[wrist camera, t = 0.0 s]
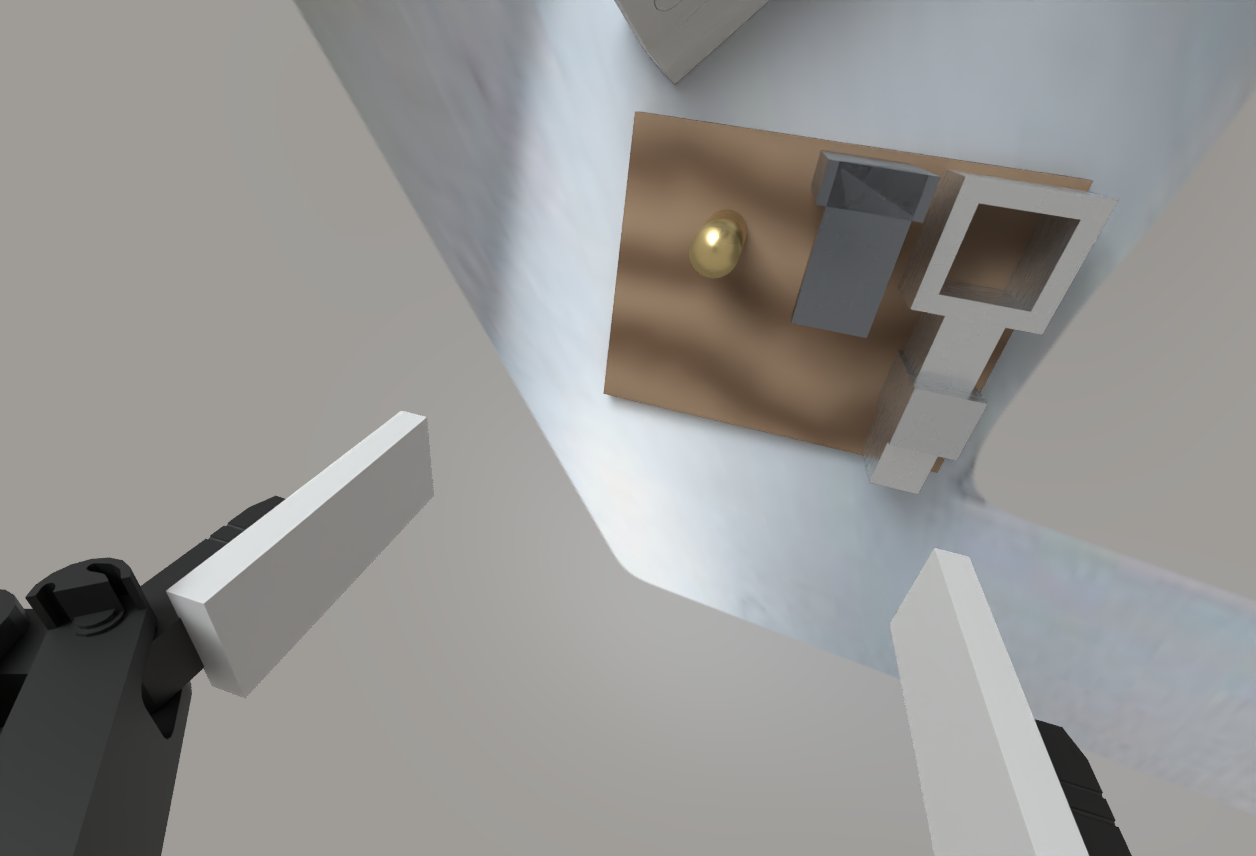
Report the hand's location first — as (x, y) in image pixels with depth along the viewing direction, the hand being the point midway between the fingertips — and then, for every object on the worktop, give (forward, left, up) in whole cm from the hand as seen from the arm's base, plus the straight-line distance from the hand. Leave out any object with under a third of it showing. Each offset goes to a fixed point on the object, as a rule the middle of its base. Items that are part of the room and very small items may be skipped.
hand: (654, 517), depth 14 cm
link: (+2, +14, -27) cm, 30 cm away
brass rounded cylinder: (-2, -1, -28) cm, 28 cm away
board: (+2, +5, -28) cm, 28 cm away
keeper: (-4, +6, -28) cm, 29 cm away
